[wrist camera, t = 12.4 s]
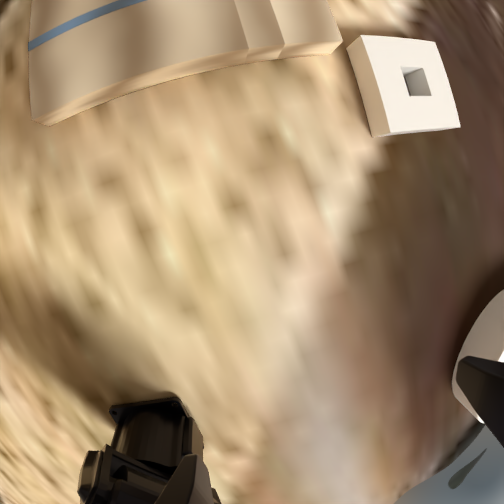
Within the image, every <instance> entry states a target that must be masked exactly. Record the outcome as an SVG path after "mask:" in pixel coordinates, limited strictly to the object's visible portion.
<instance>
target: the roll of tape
mask: <svg viewBox="0 0 504 504" xmlns="http://www.w3.org/2000/svg"><path fill="white" fill-rule="evenodd" d="M465 356H474V357H479V358H484V359H489V360H494V361H499V362H504V290H502V291H501V292H499V293H498V294H497V295H496V296H495V297H494V298H493V299H492V300H491V301H490V302H489V303H488V305H487V306H486V307H485V309H484V310H483V311H482V312H481V314H480V315H479V317H478V318H477V320H476V322H475V323H474V325H473V327H472V328H471V330H470V332H469V334H468V336H467V338H466V340H465V342H464V344H463V346H462V348H461V351H460V353H459V356H458V359H457V361H456V365H455V368H454V372H453V377H452V390H453V394H454V396H455V397H456V398H457V399H458V400H459V401H460V402H461V403H462V404H463V405H464V406H465V407H466V408H467V409H468V410H469V411H470V412H471V413H472V414H473V415H474V416H475V417H476V418H477V419H478V420H479V421H480V422H481V423H484V422H483V421H482V419H481V418H480V417H479V416H478V414H477V413H476V412H475V410H474V409H473V407H472V406H471V404H470V403H469V401H468V400H467V398H466V396H465V395H464V393H463V392H462V390H461V389H460V387H459V386H458V384H457V382H456V372H457V366H458V362H459V360H461V359H462V358H464V357H465Z"/></svg>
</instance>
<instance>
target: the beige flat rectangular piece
mask: <svg viewBox="0 0 504 504" xmlns="http://www.w3.org/2000/svg"><path fill="white" fill-rule="evenodd" d="M342 42H343V39H342V36H341V34H340V31H339V29H338V26H337V23H336V21H335V18H334V16H333V14H332V11H331V9H330V6H329V4H328V2H327V0H32V5H31V16H30V30H29V42H28V51H29V90H30V105H31V116H32V121H34V122H37V123H40V124H44V125H47V126H52V125H54V124H56V123H58V122H60V121H62V120H64V119H67V118H69V117H71V116H73V115H75V114H78V113H80V112H82V111H85V110H87V109H89V108H92V107H94V106H97V105H99V104H102V103H104V102H107V101H110V100H112V99H115V98H118V97H120V96H123V95H126V94H129V93H132V92H135V91H138V90H141V89H144V88H147V87H150V86H153V85H157V84H160V83H163V82H167V81H170V80H174V79H178V78H181V77H185V76H189V75H193V74H197V73H202V72H206V71H210V70H215V69H220V68H225V67H230V66H235V65H241V64H247V63H253V62H260V61H267V60H274V59H283V58H292V57H302V56H316V55H330V54H331V53H332V52H333V51H334V50H335V49H336V48H337V47H338V46H339V45H340V44H341V43H342Z"/></svg>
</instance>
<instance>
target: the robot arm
mask: <svg viewBox="0 0 504 504" xmlns="http://www.w3.org/2000/svg"><path fill="white" fill-rule="evenodd" d="M456 382H457V384H458V386H459V387H460V389H461V390H462V392H463V393H464V395H465V396H466V398H467V400H468V401H469V403H470V404H471V406H472V407H473V409H474V410H475V412H476V413H477V414H478V416H479V417H480V418H481V419H482V421H483V422H484V423H485V424H486V426H487V427H488V428H489V429H490V431H491V432H492V433H493V434H494V436H495V437H496V438H497V440H498V441H499V442H500V443H501V445H502V446H503V447H504V362H499V361H494V360H489V359H484V358H479V357H474V356H465V357H464V358H462V359H461V360H459V362H458V366H457V372H456ZM173 402H175V403H177V404H174V403H173ZM115 411H116V412H115ZM109 413H110V415H111V416H112V418H113V419H114V421H115V422H116V424H117V427H116V430H115V433H114V436H113V439H112V443H111V446H109V445H107V444H106V445H105V446H104V447H103V449H102V450H100V451H88V452H87V454H86V456H85V459H84V462H83V465H82V468H81V471H80V476H79V483H78V491H77V492H78V494H79V496H80V504H221V502H220V499H219V497H218V495H217V492H216V490H215V489H214V488H211V484H210V478H209V472H208V469H207V467H206V465H205V464H204V462H203V449H204V443H203V436H202V434H201V432H200V430H199V428H198V427H197V425H196V423H195V421H194V419H193V418H192V417H189V416H188V414H187V412H186V410H185V408H184V406H183V404H182V402H181V400H180V399H179V398H177V397H171V398H165V399H159V400H152V401H146V402H138V403H131V404H123V405H114V406H111V407H110V409H109Z"/></svg>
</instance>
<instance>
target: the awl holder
mask: <svg viewBox="0 0 504 504" xmlns="http://www.w3.org/2000/svg"><path fill="white" fill-rule="evenodd" d="M346 50H347V52H348V55H349V58H350V61H351V64H352V67H353V70H354V73H355V77H356V80H357V83H358V86H359V90H360V93H361V97H362V100H363V104H364V107H365V111H366V115H367V119H368V123H369V127H370V131H371V135H372V137H380V136H388V135H396V134H405V133H415V132H426V131H438V130H445V129H452V128H458V127H460V122H459V118H458V114H457V110H456V106H455V102H454V99H453V95H452V92H451V88H450V85H449V81H448V78H447V75H446V72H445V69H444V66H443V63H442V60H441V58H440V55H439V52H438V49H437V47H436V44H435V42H431V41H424V40H417V39H408V38H399V37H387V36H372V35H360V36H359V37H358V38H357V39H356V40H355V41H353V42H352V43H351V44H350V45H349V46H348V47H347V48H346ZM403 76H405V79H406V82H407V85H408V89H409V92H410V95H411V96H409V93H408V90H407V86H406V83H405V80H404V77H403Z"/></svg>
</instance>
